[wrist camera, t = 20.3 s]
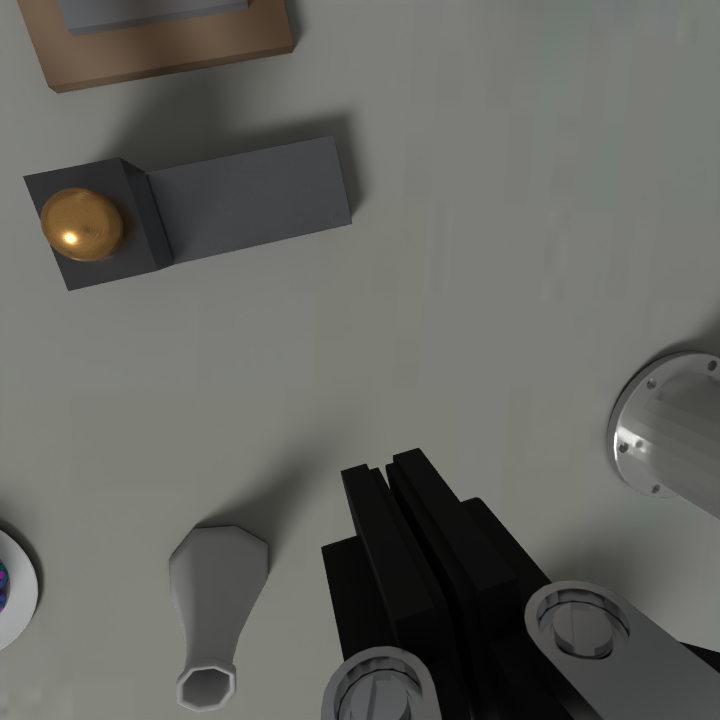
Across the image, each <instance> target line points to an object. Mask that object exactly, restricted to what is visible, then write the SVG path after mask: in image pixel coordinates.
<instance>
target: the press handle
mask: <svg viewBox="0 0 720 720" xmlns="http://www.w3.org/2000/svg"><path fill="white" fill-rule="evenodd" d="M23 178H24V180H25V183H26V185H27V188H28V190H29V193H30V195H31V198H32V200H33V203H34V205H35V208H36V210H37V213H38V215H39V218H40V220H41V227H42V231H43V233H44V235H45V237H46V239H47V240H48V242H49V243H50V246H51V248H52V251H53V253H54V256H55V258H56V261H57V263H58V266H59V268H60V271H61V273H62V276H63V279H64V281H65V284H66V286H67V289H68V291H71V290H75V289H80V288H84V287H88V286H93V285H97V284H101V283H106V282H110V281H114V280H119V279H123V278H128V277H132V276H136V275H141V274H145V273H149V272H154V271H158V270H161V269H163V268H166V267H169V266H172V265H175V264H174V261H173V258H172V255H171V252H170V249H169V245H168V242H167V239H166V236H165V233H164V230H163V227H162V224H161V221H160V218H159V215H158V212H157V209H156V205H155V202H154V199H153V196H152V193H151V190H150V187H149V184H148V181H147V178H146V175H145V172H144V171H143V170H141V169H139V168H137V167H135V166H134V165H132V164H130V163H128V162H126V161H125V160H123V159H121V158H115V159H110V160H104V161H99V162H94V163H89V164H84V165H79V166H74V167H68V168H63V169H58V170H53V171H48V172H43V173H38V174H33V175H27V176H23Z"/></svg>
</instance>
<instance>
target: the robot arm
mask: <svg viewBox="0 0 720 720" xmlns="http://www.w3.org/2000/svg"><path fill="white" fill-rule="evenodd" d="M607 449H608V454H609V458H610V462H611V464H612V466H613V468H614V470H615V472H616V473H617V475H618V476H619V477H620V478H621V480H622V481H624V482H625V483H626V484H628V485H629V486H630V487H632V488H633V489H635V490H636V491H638V492H640V493H642V494H644V495H647V496H650V497H661V498H666V497H673V496H678V495H680V496H682V497H684V498H685V499H687V500H688V501H690V502H692V503H693V504H695V505H697V506H698V507H700V508H701V509H703V510H705V511H706V512H708V513H709V514H711V515H713V516H714V517H716V518H718V519H719V520H720V358H719V357H716V356H713V355H709V354H706V353H701V352H694V351H688V352H678V353H675V354H671V355H668V356H665V357H663V358H661V359H659V360H657V361H655V362H653V363H652V364H651V365H649V366H648V367H646V368H645V369H644V370H642V371H641V372H640V373H639V374H638V375H637V376H636V377H635V378H634V379H633V380H632V381H631V382H630V383H629V385H628V386H627V388H626V389H625V390H624V392H623V393H622V394H621V396H620V398H619V400H618V402H617V404H616V406H615V408H614V410H613V413H612V416H611V419H610V422H609V428H608V434H607ZM393 462H394V463H391V464H387V465H386V466H385V467H386V473H387V477H388V482H389V486H390V489H389V487H388V485H387V483H386V481H385V479H384V477H383V475H382V473H381V472H380V470H379V468H378V467H377V468H374V469H371V470H369V468H368V466H367V464H363V465H359V466H356V467H353V468H349V469H346V470H343V471H341V475H342V480H343V484H344V488H345V491H346V495H347V499H348V503H349V507H350V511H351V515H352V519H353V523H354V527H355V531H356V534H357V536H354V537H351V538H347V539H344V540H341V541H338V542H335V543H332V544H329V545H326V546H323V547H321V549H322V555H323V560H324V564H325V569H326V574H327V579H328V584H329V589H330V594H331V599H332V604H333V609H334V614H335V619H336V623H337V628H338V633H339V638H340V643H341V648H342V653H343V658H344V663H343V664H342V665H341V666H340V667H339V668H338V669H337V671H336V672H335V673H334V674H333V675H332V677H331V679H330V681H329V683H328V685H327V687H326V689H325V691H324V696H323V702H322V708H321V720H720V653H719V652H715V651H712V650H708V649H704V648H701V647H697V646H693V645H690V644H686V643H683V642H679V641H677V640H676V639H675V638H673V637H672V636H671V635H670V634H668V633H667V632H666V631H664V630H663V629H662V628H661V627H659V626H658V625H657V624H656V623H654V622H653V621H652V620H650V619H649V618H648V617H647V616H645V615H644V614H643V613H641V612H640V611H639V610H638V609H636V608H635V607H634V606H633V605H631V604H630V603H629V602H627V601H626V600H625V599H624V598H622V597H621V596H619V595H617V594H616V593H614V592H612V591H611V590H609V589H608V588H605V587H602V586H599V585H596V584H593V583H591V582H583V581H576V580H570V581H558V582H555V583H552V582H551V581H550V580H549V579H548V578H547V577H546V575H545V574H544V573H543V572H542V571H541V569H540V568H539V567H538V566H537V565H536V564H535V562H534V561H533V560H532V559H531V558H530V556H529V555H528V554H527V553H526V552H525V551H524V549H523V548H522V547H521V546H520V545H519V543H518V542H517V541H516V540H515V539H514V538H513V536H512V535H511V534H510V533H509V532H508V530H507V529H506V528H505V527H504V526H503V525H502V523H501V522H500V521H499V520H498V519H497V517H496V516H495V515H494V514H493V513H492V512H491V510H490V509H489V508H488V507H487V506H486V504H485V503H484V502H483V501H482V500H481V499H480V498H477V497H475V498H472V499H469V500H466V501H462V502H460V501H459V500H458V498H457V497H456V496H455V494H454V493H453V492H452V490H451V489H450V488H449V486H448V485H447V484H446V483H445V481H444V480H443V479H442V477H441V476H440V475H439V473H438V472H437V471H436V469H435V468H434V467H433V465H432V464H431V463H430V461H429V460H428V459H427V457H426V456H425V455H424V454H423V452H422V451H421V450H420V449H419V448H416V449H413V450H409V451H406V452H403V453H399V454H396V455H393ZM471 718H472V719H471Z"/></svg>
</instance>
